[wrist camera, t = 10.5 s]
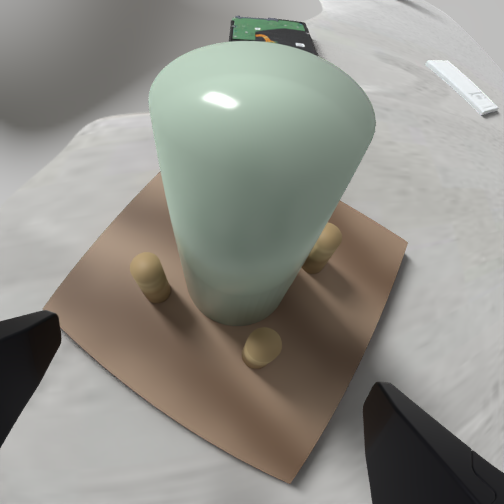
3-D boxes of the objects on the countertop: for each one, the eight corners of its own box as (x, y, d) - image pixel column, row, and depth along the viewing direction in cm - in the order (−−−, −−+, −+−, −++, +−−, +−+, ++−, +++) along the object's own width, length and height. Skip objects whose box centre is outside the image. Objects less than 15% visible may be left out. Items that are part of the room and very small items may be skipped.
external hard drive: (445, 66, 42) (495, 113, 38) (423, 67, 40) (479, 118, 36) (448, 60, 41) (499, 107, 37) (427, 60, 38) (484, 111, 34)
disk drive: (320, 92, 31) (301, 36, 38) (326, 73, 29) (305, 20, 35) (224, 84, 30) (229, 30, 37) (225, 63, 28) (230, 13, 34)
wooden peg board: (285, 479, 15) (306, 501, 11) (50, 314, 18) (14, 290, 14) (400, 249, 23) (432, 217, 18) (204, 140, 25) (203, 96, 21)
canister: (293, 320, 18) (410, 178, 7) (189, 329, 17) (134, 183, 6) (278, 230, 21) (337, 48, 9) (184, 235, 20) (160, 43, 8)
